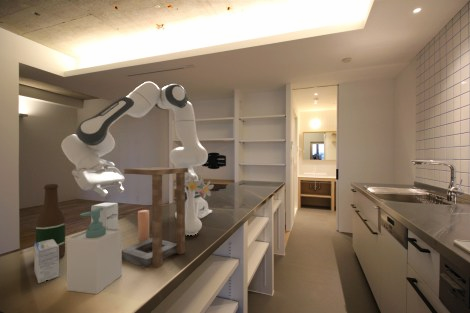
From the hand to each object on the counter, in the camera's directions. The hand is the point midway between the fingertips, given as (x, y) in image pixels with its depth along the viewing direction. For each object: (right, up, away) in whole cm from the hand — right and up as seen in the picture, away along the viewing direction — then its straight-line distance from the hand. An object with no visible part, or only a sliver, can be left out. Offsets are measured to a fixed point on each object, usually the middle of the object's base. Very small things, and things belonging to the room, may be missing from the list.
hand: (114, 193), depth 85 cm
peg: (+12, -19, -2) cm, 23 cm away
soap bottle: (+11, -19, -29) cm, 36 cm away
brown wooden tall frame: (+21, -19, -13) cm, 31 cm away
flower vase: (+29, -19, +8) cm, 36 cm away
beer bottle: (-13, -19, -14) cm, 27 cm away
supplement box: (-9, -19, +9) cm, 23 cm away
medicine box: (-5, -19, -25) cm, 32 cm away
